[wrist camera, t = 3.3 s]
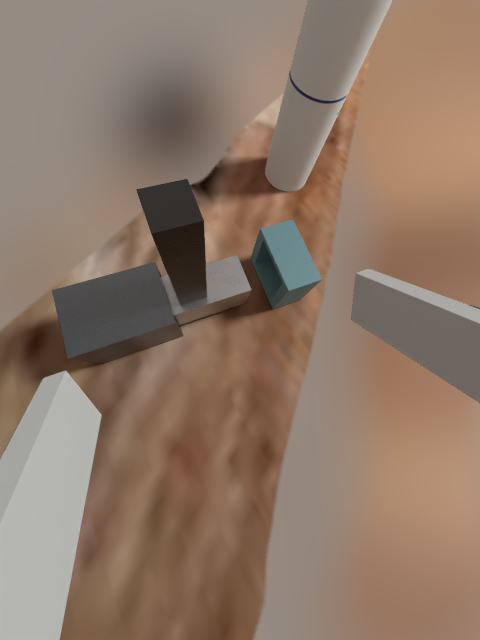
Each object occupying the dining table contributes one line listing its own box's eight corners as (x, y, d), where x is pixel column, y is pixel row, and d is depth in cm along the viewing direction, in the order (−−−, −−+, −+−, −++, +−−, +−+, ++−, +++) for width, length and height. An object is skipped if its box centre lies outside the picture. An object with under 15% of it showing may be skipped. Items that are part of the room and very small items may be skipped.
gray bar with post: (103, 350, 27) (-63, 303, 11) (94, 314, 28) (-74, 219, 12) (245, 302, 31) (286, 211, 14) (233, 272, 32) (258, 153, 15)
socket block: (272, 309, 32) (288, 290, 26) (250, 258, 34) (260, 228, 27) (299, 300, 33) (322, 279, 26) (277, 250, 35) (292, 219, 28)
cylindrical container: (256, 167, 38) (331, -192, 14) (287, 150, 40) (403, -196, 16) (283, 198, 37) (414, -129, 13) (315, 179, 39) (480, -141, 15)
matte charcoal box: (102, 364, 28) (67, 358, 21) (88, 311, 29) (51, 290, 23) (183, 335, 30) (175, 322, 23) (167, 287, 31) (154, 262, 25)
